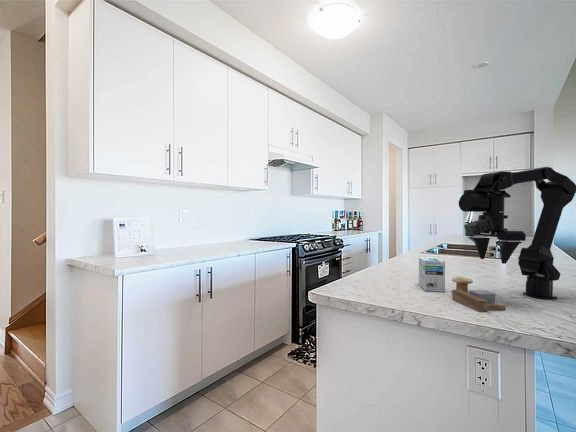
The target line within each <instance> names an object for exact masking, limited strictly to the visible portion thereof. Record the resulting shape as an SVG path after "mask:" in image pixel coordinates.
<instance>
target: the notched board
mask: <svg viewBox="0 0 576 432" xmlns="http://www.w3.org/2000/svg"><path fill="white" fill-rule="evenodd" d="M451 294H452V301H455V302H457V303H459V304H461V305H463V306H465V307H467V308H470V309H472V310H474V311H476V312H478V313H488V312H489V311H490V312H491V311H492V312H495V311H496V312H497V311H500V312H501V311H506V309H507V306H506V305H507V304H504V303H495V304H487V301H486V300H484V299H481V298H479V297H476V296H474V295H471V294H469V293H466V292H464V291H461V290H456V289H452V290H451Z"/></svg>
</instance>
